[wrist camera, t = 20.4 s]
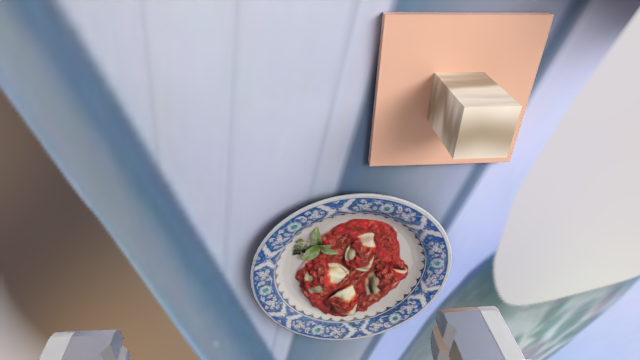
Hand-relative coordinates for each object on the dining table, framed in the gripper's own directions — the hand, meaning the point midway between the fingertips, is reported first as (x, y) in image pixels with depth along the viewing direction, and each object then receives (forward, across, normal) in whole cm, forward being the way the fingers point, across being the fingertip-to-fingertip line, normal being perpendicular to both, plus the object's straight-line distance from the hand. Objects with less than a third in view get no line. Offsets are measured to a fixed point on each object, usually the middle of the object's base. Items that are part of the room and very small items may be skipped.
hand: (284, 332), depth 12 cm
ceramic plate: (+35, -9, +32) cm, 48 cm away
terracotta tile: (+34, -18, +8) cm, 39 cm away
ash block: (+33, -18, +8) cm, 38 cm away
